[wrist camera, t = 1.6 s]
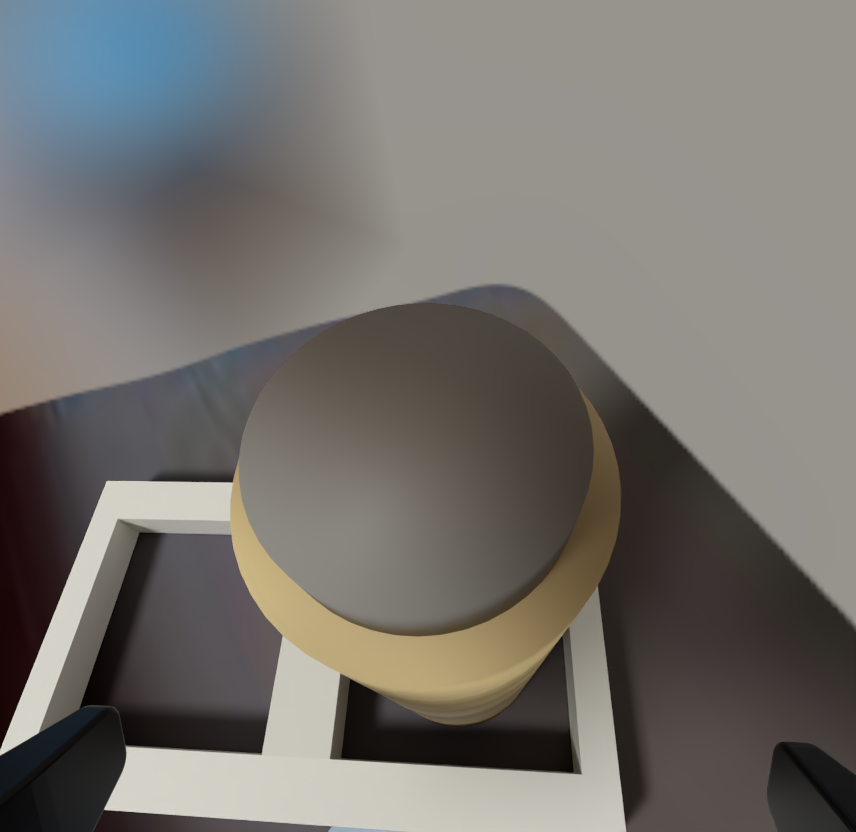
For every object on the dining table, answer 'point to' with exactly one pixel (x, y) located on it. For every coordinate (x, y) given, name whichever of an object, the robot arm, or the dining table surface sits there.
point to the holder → (309, 715)
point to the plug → (425, 505)
